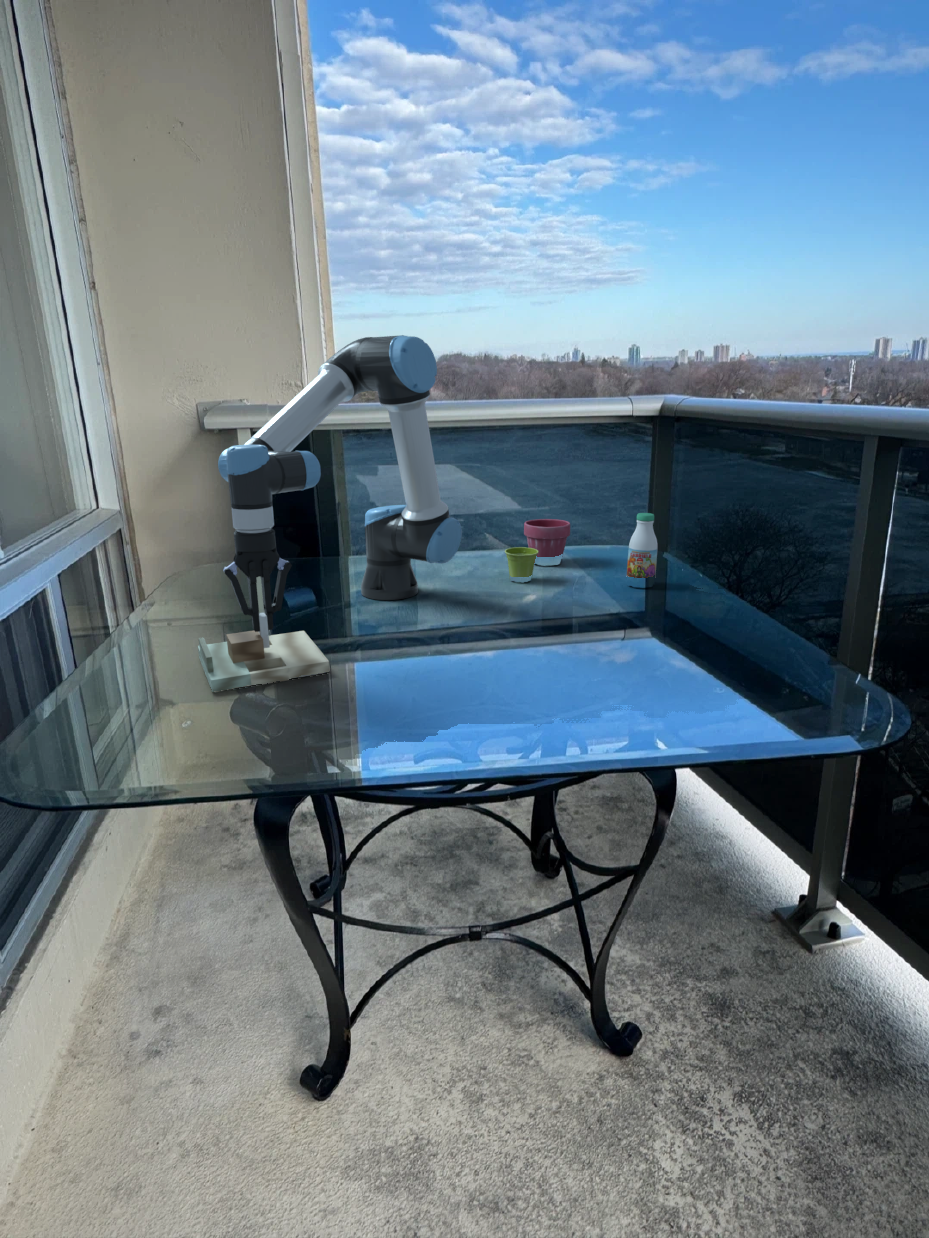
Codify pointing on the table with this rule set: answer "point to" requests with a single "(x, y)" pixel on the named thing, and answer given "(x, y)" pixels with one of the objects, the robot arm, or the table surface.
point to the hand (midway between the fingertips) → (264, 645)
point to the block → (245, 646)
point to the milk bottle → (642, 548)
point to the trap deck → (263, 662)
